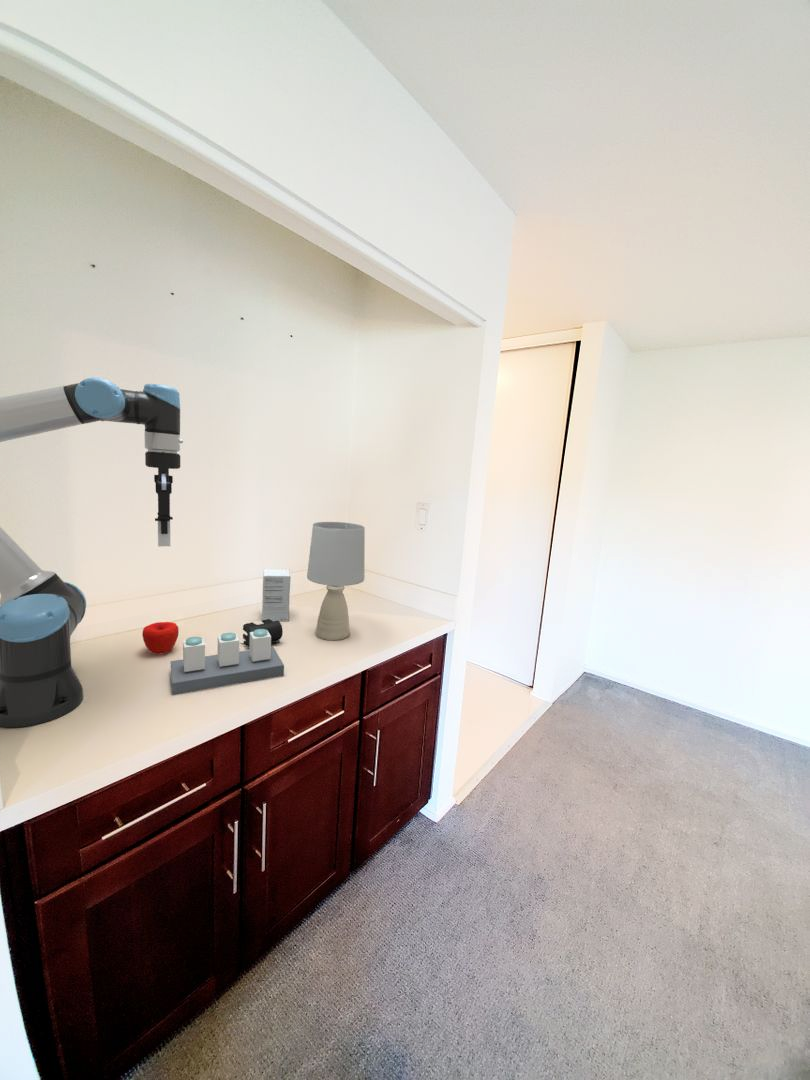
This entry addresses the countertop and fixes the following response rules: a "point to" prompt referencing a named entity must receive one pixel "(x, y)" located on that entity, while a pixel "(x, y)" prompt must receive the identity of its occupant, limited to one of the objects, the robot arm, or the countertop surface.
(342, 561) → the lamp
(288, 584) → the supplement box
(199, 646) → the button near
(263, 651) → the button far
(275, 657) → the mount
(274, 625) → the end cap
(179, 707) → the countertop surface
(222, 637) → the button mid
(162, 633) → the apple
